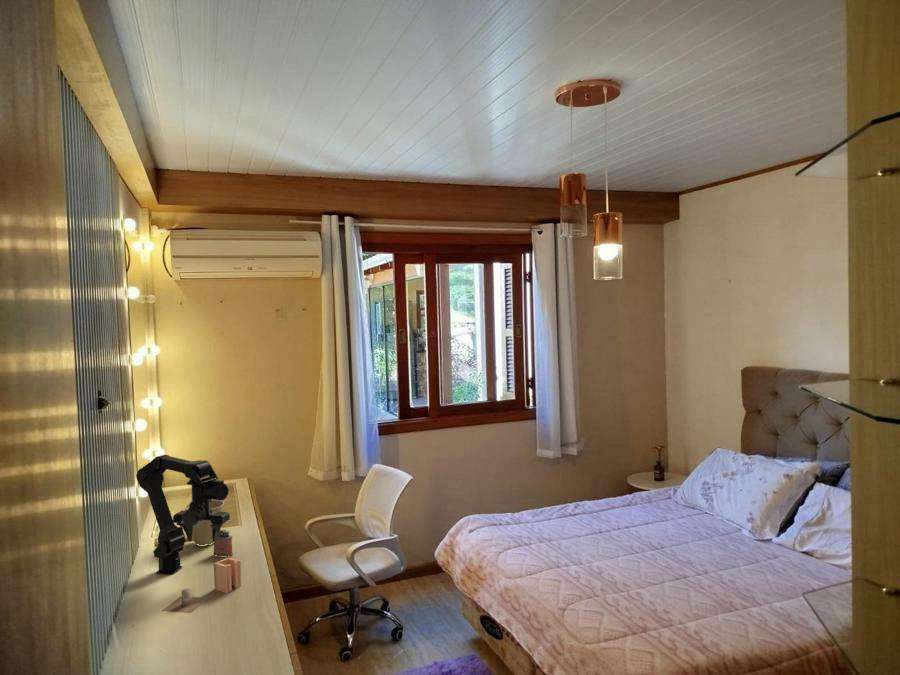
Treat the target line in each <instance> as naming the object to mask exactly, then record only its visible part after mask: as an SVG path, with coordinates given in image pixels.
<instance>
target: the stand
mask: <svg viewBox="0 0 900 675" xmlns="http://www.w3.org/2000/svg"><path fill="white" fill-rule="evenodd" d="M190 592H191V591H190V588H184V589H182V590H181V596H180V597H178V598H177V599H175V600H174V601H173V602H171V603H170V604H168V605H167V606H166V607H164V609H162V610H161V612H171V613H173V612H174V613H188V614H191V613H193V612H194V611H195V610H197V609H198V608H199V607H200V606H202V604H204V603H205V602H206V601H207V600H209V599H210V597H203V596H201V597H200V596H199V597H198V596H191V593H190Z"/></svg>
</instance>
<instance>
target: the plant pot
mask: <svg viewBox="0 0 900 675" xmlns="http://www.w3.org/2000/svg"><path fill="white" fill-rule="evenodd" d="M189 504H190V503H188V504H186V505H185V506H184V510H186V511H187V510H188V509H189ZM224 508H225V501H224V500H222V501H220V500H212V501H211V502H210V510H212V513H210V515H214V514H216V513H217V512H224ZM211 524H212V523H211V520H202V521H198V523H197V524H196V525H193V531H192V540H193V541H194V544H195V543H196V544H199V545H205V544H211V543H213V540H212V527H211V526H210V525H211ZM196 544H195V545H196Z"/></svg>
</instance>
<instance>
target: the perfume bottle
mask: <svg viewBox="0 0 900 675" xmlns="http://www.w3.org/2000/svg"><path fill="white" fill-rule="evenodd" d="M213 554H214V555H217V556H227V557H226V558H228V556H232V555H233V556H234V554H233V536H232V535H230V530H226V529H220V531H219V534H218V536H217V539H216V541H215V542H214V544H213ZM213 554H212V555H213ZM233 556H232V557H233Z"/></svg>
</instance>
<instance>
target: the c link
mask: <svg viewBox="0 0 900 675" xmlns="http://www.w3.org/2000/svg"><path fill="white" fill-rule="evenodd" d="M241 565H242V563H241V560H240V559H236V558H232V557H225V558H224V559H222V560H219V561H216V562H214V563H213V577H214V580H213V581H214V590H216V591H219V592H222V593H225V594H228V593H230V592H231V591H233V588H234V589H238V588H240V587H242V570H241V568H242V567H241ZM232 587H233V588H232Z"/></svg>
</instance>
